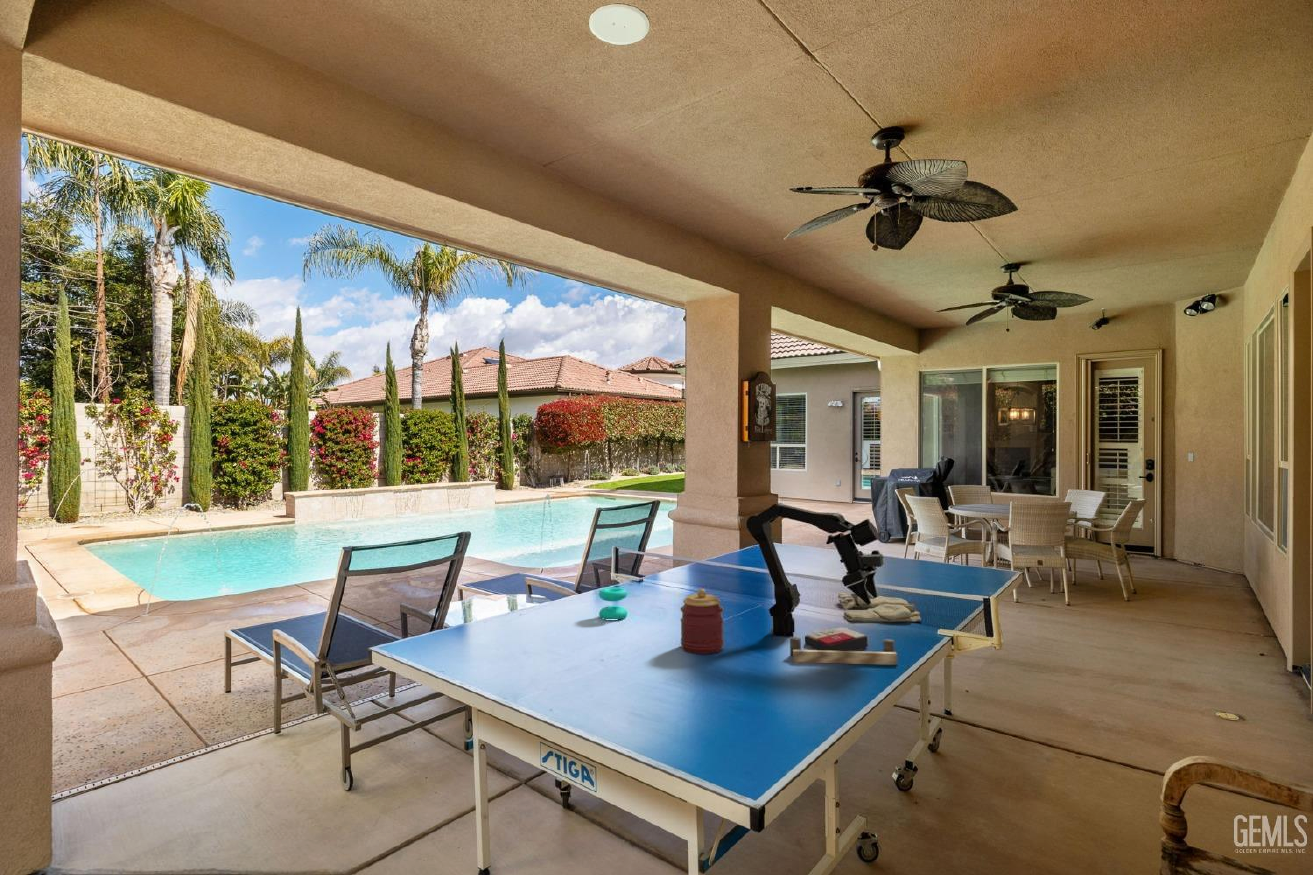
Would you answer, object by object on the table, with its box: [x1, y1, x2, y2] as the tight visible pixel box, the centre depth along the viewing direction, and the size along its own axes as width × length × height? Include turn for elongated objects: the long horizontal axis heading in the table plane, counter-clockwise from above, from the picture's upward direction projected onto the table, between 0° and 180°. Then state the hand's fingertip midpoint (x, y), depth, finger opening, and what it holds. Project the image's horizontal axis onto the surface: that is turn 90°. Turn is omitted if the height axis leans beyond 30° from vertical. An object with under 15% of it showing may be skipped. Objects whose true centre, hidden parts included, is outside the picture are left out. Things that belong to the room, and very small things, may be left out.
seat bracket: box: [789, 636, 898, 666], centre depth 185 cm, size 29×7×5 cm, turn 83°
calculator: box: [804, 626, 869, 651], centre depth 198 cm, size 11×4×15 cm
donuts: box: [598, 586, 628, 620], centre depth 233 cm, size 10×10×10 cm
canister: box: [679, 588, 725, 655], centre depth 197 cm, size 13×13×18 cm
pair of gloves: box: [837, 592, 922, 623], centre depth 236 cm, size 30×26×5 cm
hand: (872, 600), depth 196 cm, fingers open, 9 cm apart
